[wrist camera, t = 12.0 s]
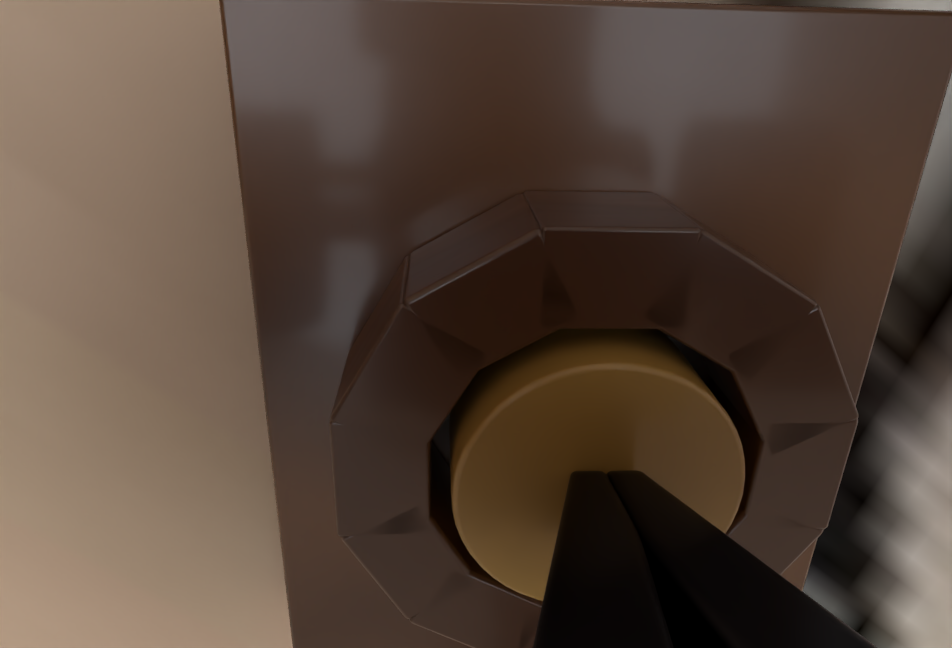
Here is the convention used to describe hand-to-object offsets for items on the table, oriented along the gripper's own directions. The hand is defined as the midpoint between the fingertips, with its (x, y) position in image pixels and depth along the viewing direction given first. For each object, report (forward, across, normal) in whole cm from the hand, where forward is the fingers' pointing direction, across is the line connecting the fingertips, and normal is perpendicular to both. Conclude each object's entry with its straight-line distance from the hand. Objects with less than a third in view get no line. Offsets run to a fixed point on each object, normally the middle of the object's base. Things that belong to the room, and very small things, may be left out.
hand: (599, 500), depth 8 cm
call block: (+4, 0, 0) cm, 4 cm away
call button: (+2, 0, 0) cm, 2 cm away
